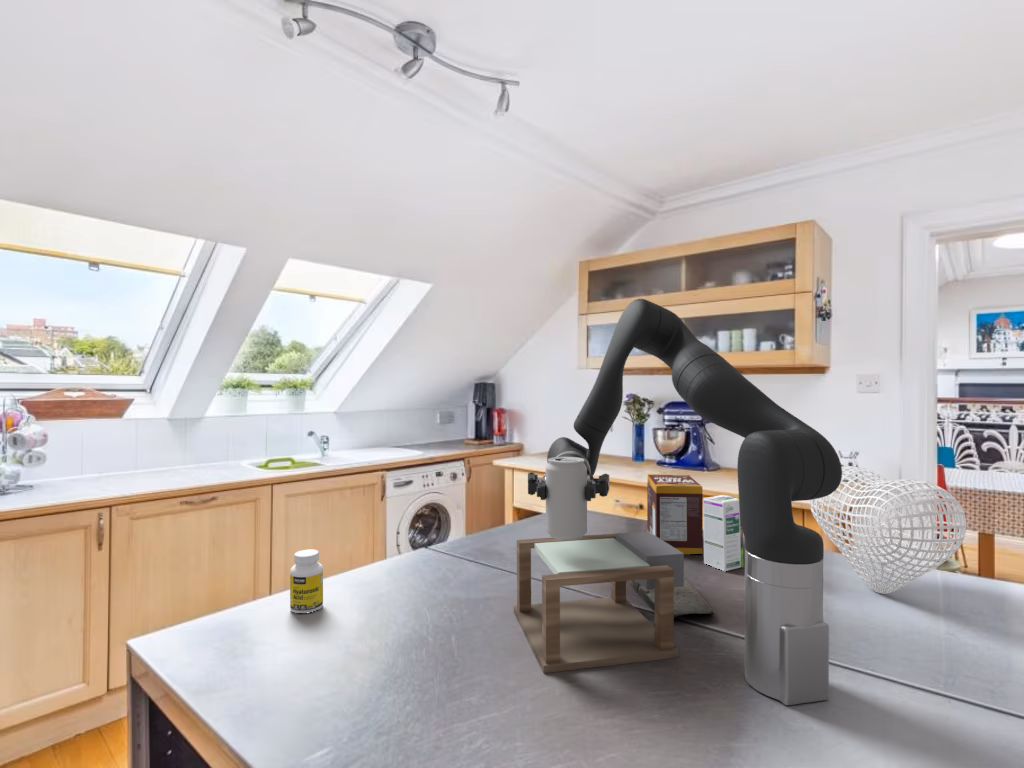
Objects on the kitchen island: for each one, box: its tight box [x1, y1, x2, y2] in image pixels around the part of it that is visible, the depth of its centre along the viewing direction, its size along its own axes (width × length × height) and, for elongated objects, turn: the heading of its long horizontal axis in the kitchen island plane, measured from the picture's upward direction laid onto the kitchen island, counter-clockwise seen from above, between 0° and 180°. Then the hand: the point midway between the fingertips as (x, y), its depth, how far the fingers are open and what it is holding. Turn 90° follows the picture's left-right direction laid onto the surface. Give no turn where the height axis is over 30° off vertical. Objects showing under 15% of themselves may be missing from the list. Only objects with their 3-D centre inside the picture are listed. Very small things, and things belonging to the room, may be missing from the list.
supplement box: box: [646, 473, 704, 555], centre depth 132 cm, size 10×15×16 cm
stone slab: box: [627, 577, 715, 619], centre depth 106 cm, size 10×3×30 cm
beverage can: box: [545, 457, 588, 540], centre depth 86 cm, size 6×6×12 cm
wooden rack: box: [513, 532, 680, 674], centre depth 87 cm, size 20×20×12 cm
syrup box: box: [703, 494, 744, 573], centre depth 117 cm, size 6×6×14 cm
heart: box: [808, 465, 967, 595], centre depth 103 cm, size 28×16×22 cm, turn 8°
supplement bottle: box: [289, 548, 324, 614], centre depth 97 cm, size 5×5×10 cm
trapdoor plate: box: [534, 531, 685, 590], centre depth 88 cm, size 14×20×5 cm
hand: (565, 493), depth 84 cm, fingers closed on beverage can, 6 cm apart
